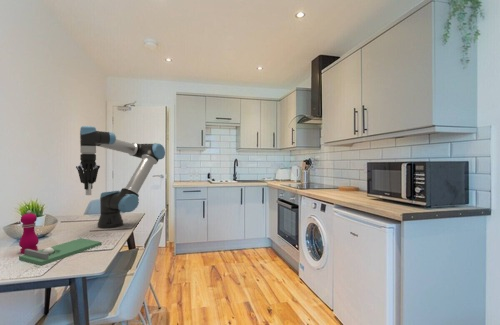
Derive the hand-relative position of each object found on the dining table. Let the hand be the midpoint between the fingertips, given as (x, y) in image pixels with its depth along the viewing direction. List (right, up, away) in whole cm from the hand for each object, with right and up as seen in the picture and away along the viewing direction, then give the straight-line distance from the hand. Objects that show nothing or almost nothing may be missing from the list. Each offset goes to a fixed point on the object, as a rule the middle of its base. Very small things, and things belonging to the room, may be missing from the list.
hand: (88, 195), depth 146 cm
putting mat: (+2, -25, -22) cm, 33 cm away
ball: (-1, -23, -28) cm, 36 cm away
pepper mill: (-15, -25, -21) cm, 36 cm away
